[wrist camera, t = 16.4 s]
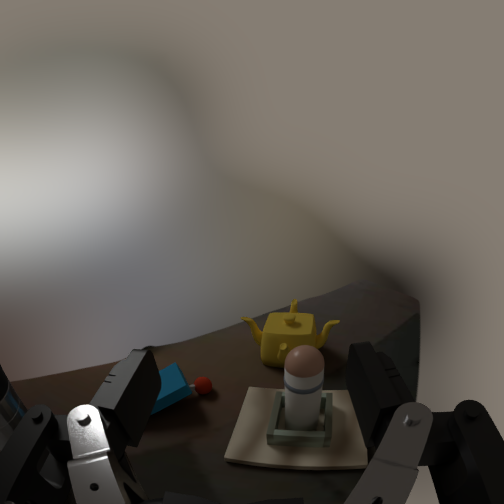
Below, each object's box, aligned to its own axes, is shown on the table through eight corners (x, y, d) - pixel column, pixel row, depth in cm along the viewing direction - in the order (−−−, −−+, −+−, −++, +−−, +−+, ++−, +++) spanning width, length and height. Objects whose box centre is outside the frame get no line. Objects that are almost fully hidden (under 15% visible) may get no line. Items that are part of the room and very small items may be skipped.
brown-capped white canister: (282, 436, 34) (280, 361, 30) (286, 412, 39) (285, 336, 34) (317, 438, 33) (326, 362, 28) (319, 413, 38) (326, 337, 33)
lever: (140, 439, 38) (221, 397, 44) (117, 419, 36) (204, 374, 42) (134, 415, 44) (207, 376, 50) (113, 394, 42) (192, 352, 48)
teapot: (337, 355, 53) (341, 316, 51) (284, 386, 46) (283, 346, 44) (294, 329, 65) (293, 293, 63) (244, 351, 58) (239, 313, 56)
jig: (225, 461, 31) (220, 447, 30) (249, 391, 46) (247, 375, 45) (365, 468, 26) (372, 454, 25) (360, 394, 41) (364, 377, 40)
